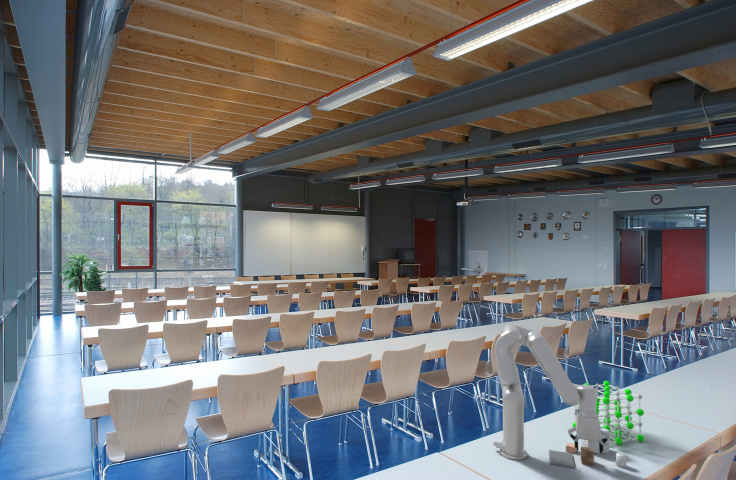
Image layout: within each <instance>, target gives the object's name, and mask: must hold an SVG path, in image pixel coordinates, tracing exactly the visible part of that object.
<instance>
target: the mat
mask: <svg viewBox="0 0 736 480" xmlns="http://www.w3.org/2000/svg"><path fill="white" fill-rule="evenodd" d="M548 455H549V456H548V457H549V465H550V466H554V467H555V466H556V467H561V468H567V469H571V470H572V469H573V470H574V469H575V463H574V457H573V453H570V452H566V451H565V452H564V451H560V450H559V451H558V450H553V449H552V450H551V449H549V450H548Z"/></svg>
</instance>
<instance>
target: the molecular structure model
mask: <svg viewBox="0 0 736 480" xmlns="http://www.w3.org/2000/svg"><path fill="white" fill-rule="evenodd" d="M583 385H590V384H589V383H587V382H585V383H583ZM591 386H593V387H595V390H596V411H597V416H598V418H599V420H600V426H603V427H604V428H606V429H607V430H609V432H610V431H611V432H613V433H609V435H610V437H609V439H611V440H613V441H609V445H610V444H614V443H615V444H616V445H618V446H619V445H622V444H623V442H628V441H629V442H633V441H635V440H637V441H638V442H641V443H642V442H644V441H645V436H644V435H643V434H642V428H641V427H643V423H642V421H641V416H644V414H645V412H644V410H643V409H642V408H641V399H643V395H641V394H638V395H637V394H634V393H633V391H632V390H631V389H629V388H625V390H624V389H621V388H620V387H619V386H617V385H616V386H613V385H611V383H610V381H608V380H604V381H603V384H599V383H595V385H593V384H591ZM603 386H604V387H603ZM599 388H601V389H599ZM613 390H616V391H613ZM620 391H621V392H620ZM611 392H612V393H611ZM599 393H600V395H599ZM614 396H615V397H614ZM620 396H621V398H620ZM622 397H623V398H622ZM611 398H613V399H611ZM634 399H638V408H637V409H634V408H633V407H631V402H633V401H634ZM621 400H626V401H627V405H625V404H623V403H622V402H621ZM600 402H601V404H600ZM577 406H578V404H576V405H574V412H573V415H574V416H575V417H574V419H575V420H574V422H573V423H572V428H574V427H576V418H577V414H578V413H575V410H577ZM611 407H613V408H611ZM600 408H601V409H600ZM625 409H627V411H626V410H625ZM613 410H614V411H613ZM632 411H633V412H632ZM603 412H604V413H603ZM622 412H624V413H622ZM611 413H612V414H611ZM599 414H600V415H599ZM633 414H636V415H638V420H639V421H638V422H637V421H635V420H633V417H632V415H633ZM624 415H625V416H624ZM602 417H604V418H602ZM614 417H615V418H614ZM623 421H626V423H625V422H623ZM614 422H615V423H614ZM603 424H604V425H603ZM621 424H622V425H621ZM610 425H611V426H613V427H610ZM635 426H639V434H637V435H635V434H633V433H632V432H631V431H632V430H633V429H634V428H635ZM623 428H627V430H624V429H623ZM613 429H615V430H613ZM622 431H623V432H622ZM623 434H625V435H626V434H628V437H626V436H624V435H623ZM612 436H615V438H614V437H612ZM632 436H633V437H634V438H633V437H632ZM621 437H622V438H624V439H623V440H622V438H621Z"/></svg>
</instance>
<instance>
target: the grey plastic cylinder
mask: <svg viewBox="0 0 736 480" xmlns="http://www.w3.org/2000/svg"><path fill="white" fill-rule="evenodd" d="M615 466H616V467H618V468H619V469H626V468H627V454H625V453H622V452H616V453H615Z"/></svg>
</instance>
